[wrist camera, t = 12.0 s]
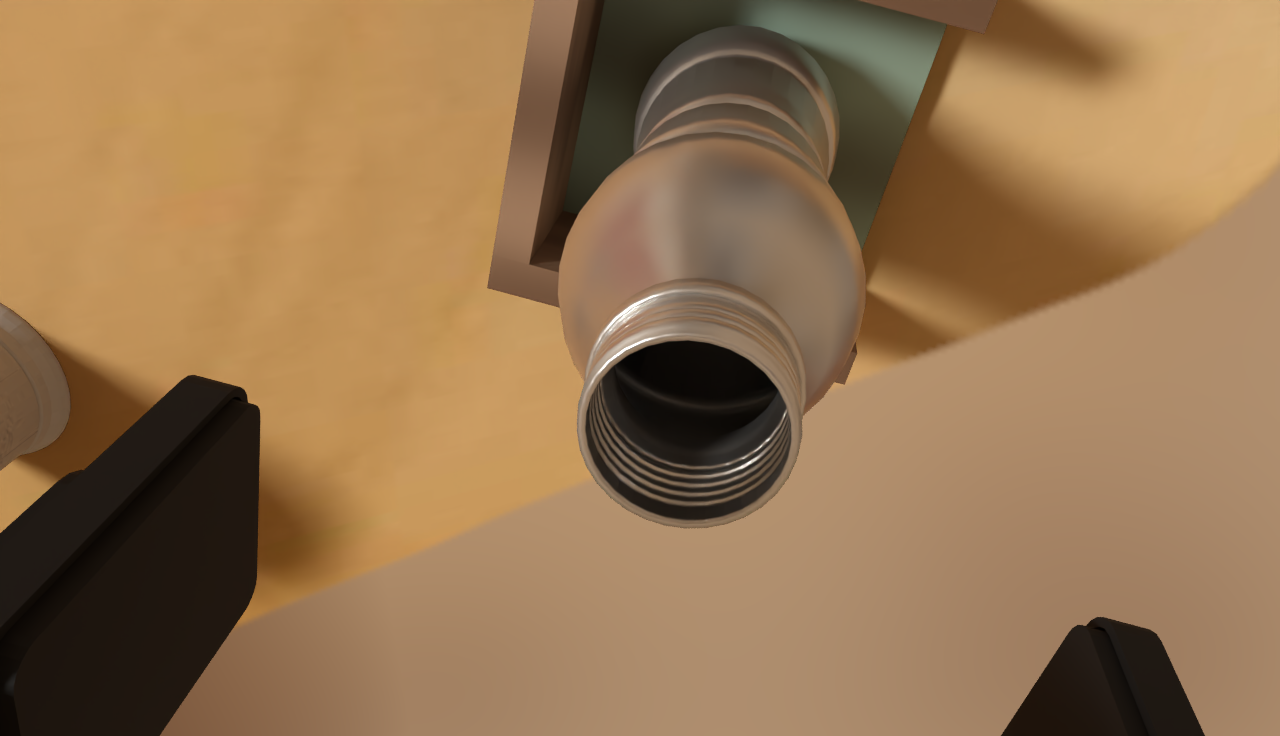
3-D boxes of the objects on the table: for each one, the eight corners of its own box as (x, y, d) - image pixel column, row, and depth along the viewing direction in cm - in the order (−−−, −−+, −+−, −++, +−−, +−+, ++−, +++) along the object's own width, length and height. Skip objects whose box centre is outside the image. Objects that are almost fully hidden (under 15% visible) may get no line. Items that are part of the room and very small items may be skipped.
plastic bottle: (860, 35, 30) (965, 286, 13) (804, 229, 34) (829, 634, 16) (664, -8, 31) (511, 186, 13) (628, 190, 34) (467, 551, 17)
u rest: (596, -136, 30) (556, -133, 25) (965, -38, 30) (1003, -14, 25) (530, 224, 36) (487, 287, 31) (836, 307, 36) (844, 384, 31)
